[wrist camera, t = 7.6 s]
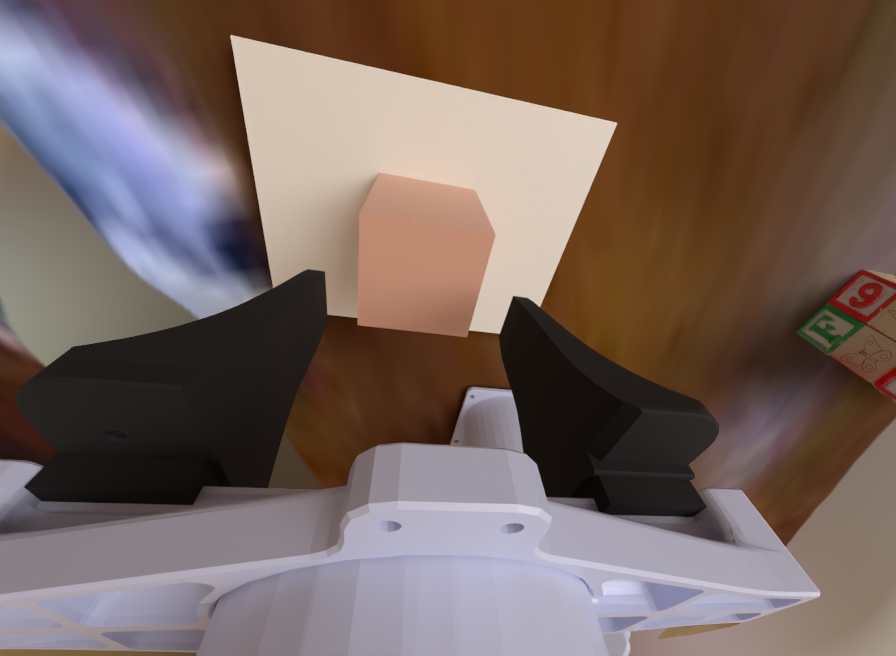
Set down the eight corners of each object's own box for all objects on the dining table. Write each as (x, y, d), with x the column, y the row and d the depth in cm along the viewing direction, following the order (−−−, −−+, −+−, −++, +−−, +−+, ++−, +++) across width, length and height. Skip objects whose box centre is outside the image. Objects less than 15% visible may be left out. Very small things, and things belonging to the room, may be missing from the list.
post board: (523, 327, 25) (549, 391, 20) (282, 299, 23) (239, 365, 17) (606, 120, 17) (688, 137, 12) (243, 38, 14) (136, 12, 9)
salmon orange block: (456, 273, 21) (467, 337, 16) (375, 261, 20) (357, 325, 15) (475, 189, 18) (495, 234, 12) (380, 172, 17) (359, 212, 12)
